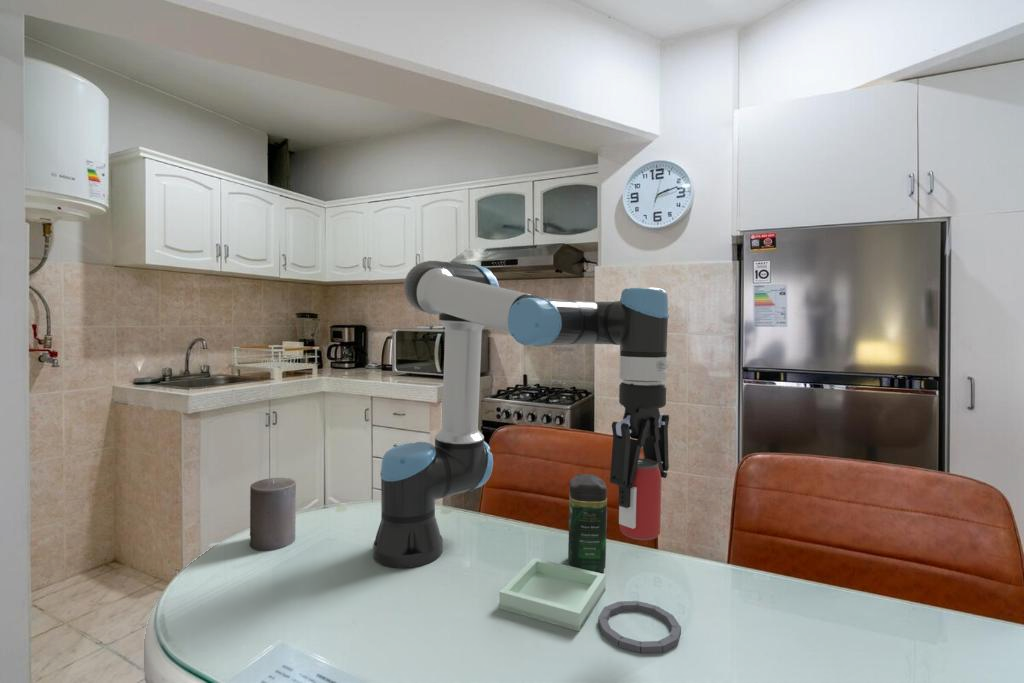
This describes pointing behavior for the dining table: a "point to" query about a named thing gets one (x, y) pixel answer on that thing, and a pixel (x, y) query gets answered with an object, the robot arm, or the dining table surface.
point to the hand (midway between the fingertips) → (639, 519)
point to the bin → (554, 593)
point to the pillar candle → (272, 513)
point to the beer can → (646, 501)
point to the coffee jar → (587, 522)
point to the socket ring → (634, 644)
